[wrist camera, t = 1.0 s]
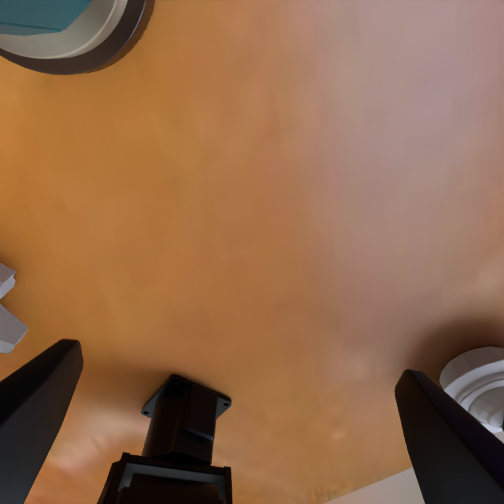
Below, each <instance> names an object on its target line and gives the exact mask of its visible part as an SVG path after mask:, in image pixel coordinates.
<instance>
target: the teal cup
mask: <svg viewBox="0 0 504 504" xmlns="http://www.w3.org/2000/svg"><path fill="white" fill-rule="evenodd" d="M90 3H91V1H90V0H0V34H6V35H19V36H29V35H38V34H47V33H57V32H62V30H66V29H67V28H68V26H69V25H70V24H71V23H72V22H73V21H74V20H75V19H76V18H77V17H78V16H79V15H80V14H81V13H82V12H83V11H84V9H85V8H86V7H87V6H88V5H89V4H90Z"/></svg>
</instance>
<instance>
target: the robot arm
mask: <svg viewBox="0 0 504 504" xmlns="http://www.w3.org/2000/svg"><path fill="white" fill-rule="evenodd" d="M82 369H83V355H82V350H81V345H80V342H79V341H78V340H74V339H62V340H59V341H58V342H57V343H55V344H54V345H52V346H51V347H49V348H48V349H46V350H45V351H44V352H42V353H41V354H39V355H38V356H36V357H35V358H34V359H32V360H31V361H29V362H28V363H26V364H25V365H23V366H22V367H21V368H19V369H18V370H16V371H15V372H13V373H12V374H10V375H9V376H8V377H6V378H5V379H3V380H2V381H0V504H23V503H24V501H25V499H26V497H27V495H28V493H29V491H30V489H31V487H32V485H33V483H34V481H35V479H36V477H37V475H38V473H39V471H40V469H41V467H42V465H43V463H44V461H45V459H46V457H47V455H48V453H49V451H50V449H51V447H52V444H53V442H54V440H55V438H56V436H57V434H58V432H59V430H60V428H61V425H62V423H63V420H64V418H65V415H66V412H67V410H68V407H69V404H70V402H71V399H72V396H73V393H74V391H75V388H76V385H77V383H78V380H79V377H80V374H81V372H82ZM395 398H396V402H397V407H398V411H399V416H400V420H401V424H402V429H403V433H404V437H405V442H406V446H407V450H408V453H409V456H410V459H411V462H412V465H413V468H414V471H415V475H416V478H417V480H418V483H419V487H420V489H421V493H422V496H423V499H424V502H425V504H504V444H503V443H502V442H501V441H500V440H499V439H498V438H497V437H496V436H495V435H493V434H492V433H491V432H490V431H489V430H488V429H487V428H486V427H485V426H483V425H482V424H481V423H480V422H479V421H478V420H477V419H476V418H474V417H473V416H472V415H471V414H470V413H469V412H468V411H467V410H465V409H464V408H463V407H462V406H461V405H460V404H459V403H458V402H456V401H455V400H454V399H453V398H452V397H451V396H450V395H449V394H447V393H446V392H445V391H444V390H443V389H442V388H441V387H440V386H438V385H437V384H436V383H435V382H434V381H433V380H432V379H431V378H430V377H428V376H427V375H426V374H425V373H424V372H423V371H421V370H417V369H406V370H404V372H403V374H402V375H401V377H400V379H399V381H398V383H397V385H396V387H395ZM230 406H231V399H230V398H228V397H226V396H224V395H222V394H219V393H217V392H215V391H213V390H210V389H208V388H206V387H203V386H201V385H199V384H197V383H194V382H192V381H190V380H187V379H185V378H183V377H181V376H178V375H171V376H170V377H169V378H168V379H167V380H166V381H165V383H164V384H163V385H162V386H161V387H160V388H159V389H158V390H157V391H156V393H155V394H154V395H153V396H152V397H151V398H150V399H149V400H148V401H147V403H146V404H145V405H144V406H143V407H142V410H141V414H142V415H145V416H147V417H150V418H151V422H150V426H149V429H148V433H147V437H146V440H145V444H144V448H143V451H142V455H141V456H138V455H131V454H130V453H126V452H123V454H122V457H121V460H119V461H117V462H115V463H112V466H111V469H110V472H109V475H108V477H107V480H106V483H105V486H104V488H103V491H102V493H101V495H100V498H99V500H98V502H97V504H233V503H232V480H231V467H226V466H224V468H223V467H216V466H211V463H212V452H213V442H214V437H215V426H216V419H217V418H218V417H219V416H220V415H221V414H222V413H224V412H225V411H226V410H227V409H228V408H229V407H230Z"/></svg>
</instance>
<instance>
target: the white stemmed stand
mask: <svg viewBox="0 0 504 504" xmlns="http://www.w3.org/2000/svg"><path fill="white" fill-rule="evenodd" d="M439 382H440V384H441V386H442V388H443V390H444V391H445V392H446V393H447V394H449V395H450V396H451V397H452V398H453V399H454V400H455V401H456V402H458V403H459V404H460V405H461V406H462V407H463V408H464V409H465V410H467V411H468V412H469V413H470V414H471V415H472V416H473V417H474V418H476V419H477V420H478V421H479V422H480V423H481V424H482V425H483V426H485V427H486V428H487V429H488V430H489V431H490V432H491V433H495V432H500V431H504V348H500V347H490V346H488V347H483V348H477V349H472V350H470V351H467V352H465V353H462V354H460V355H459V356H457V357H456V358H454V359H453V360H451V361H450V362H449V363H448V364H447V365H446V366H445V367H444V369H443V370H442V371H441V375H440V379H439Z"/></svg>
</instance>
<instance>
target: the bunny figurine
mask: <svg viewBox="0 0 504 504" xmlns="http://www.w3.org/2000/svg"><path fill="white" fill-rule="evenodd" d="M15 273H16V271H15V270H13V269H11V268H9V267H7V266H5V265H4V264H2V263H0V299H1V298H2V297H3V296H5V295H6V294H7V293H8V292H9V291H10V290H11V289H12V288H13V287H14V286H15V281H16V280H15V279H14V278H13V276H14V275H15ZM28 328H29V327H28V326H27V325H25V324H24V323H23V322H22V321H20V320H19V319H18V318H17V317H15V316H14V315H13V314H12V313H10V312H9V311H8V310H7V309H5V308H4V307H3V306H2V305H1V304H0V353H10V352H11V351H12V350H13V349H14V347H15V346H16V345H17V344H18V342H19V341H20V340H21V339H22V338H23V336H24V335H25V334H26V332H27V330H28Z"/></svg>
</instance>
